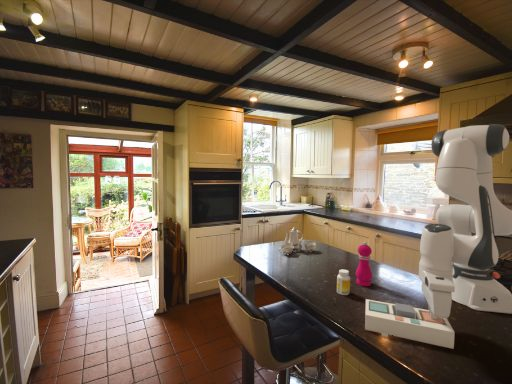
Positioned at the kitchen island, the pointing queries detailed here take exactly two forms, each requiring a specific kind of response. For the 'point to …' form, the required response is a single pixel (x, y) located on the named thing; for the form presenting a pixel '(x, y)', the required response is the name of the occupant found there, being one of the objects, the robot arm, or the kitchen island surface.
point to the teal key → (378, 308)
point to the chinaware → (295, 243)
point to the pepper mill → (364, 266)
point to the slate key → (404, 310)
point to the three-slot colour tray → (409, 326)
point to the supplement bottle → (343, 282)
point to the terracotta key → (427, 318)
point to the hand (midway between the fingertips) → (432, 317)
